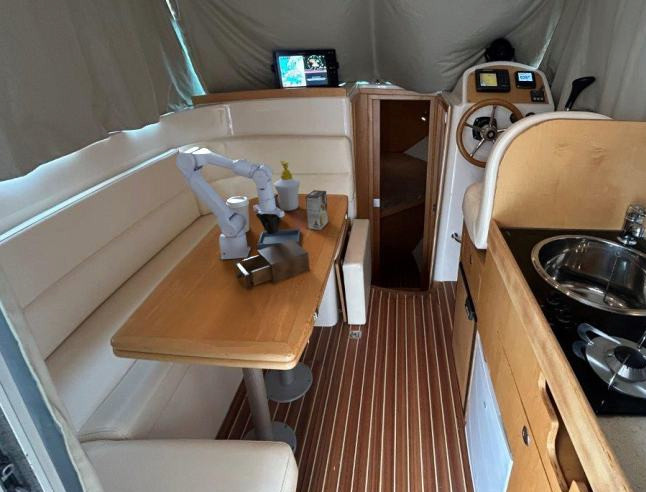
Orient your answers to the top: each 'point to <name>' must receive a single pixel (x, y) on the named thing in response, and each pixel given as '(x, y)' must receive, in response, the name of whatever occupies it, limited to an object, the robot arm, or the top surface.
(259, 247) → the tray
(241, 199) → the coffee cup
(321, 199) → the coffee box
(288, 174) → the soap bottle
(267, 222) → the spice tin
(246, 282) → the drawer
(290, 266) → the cabinet
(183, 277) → the top surface
